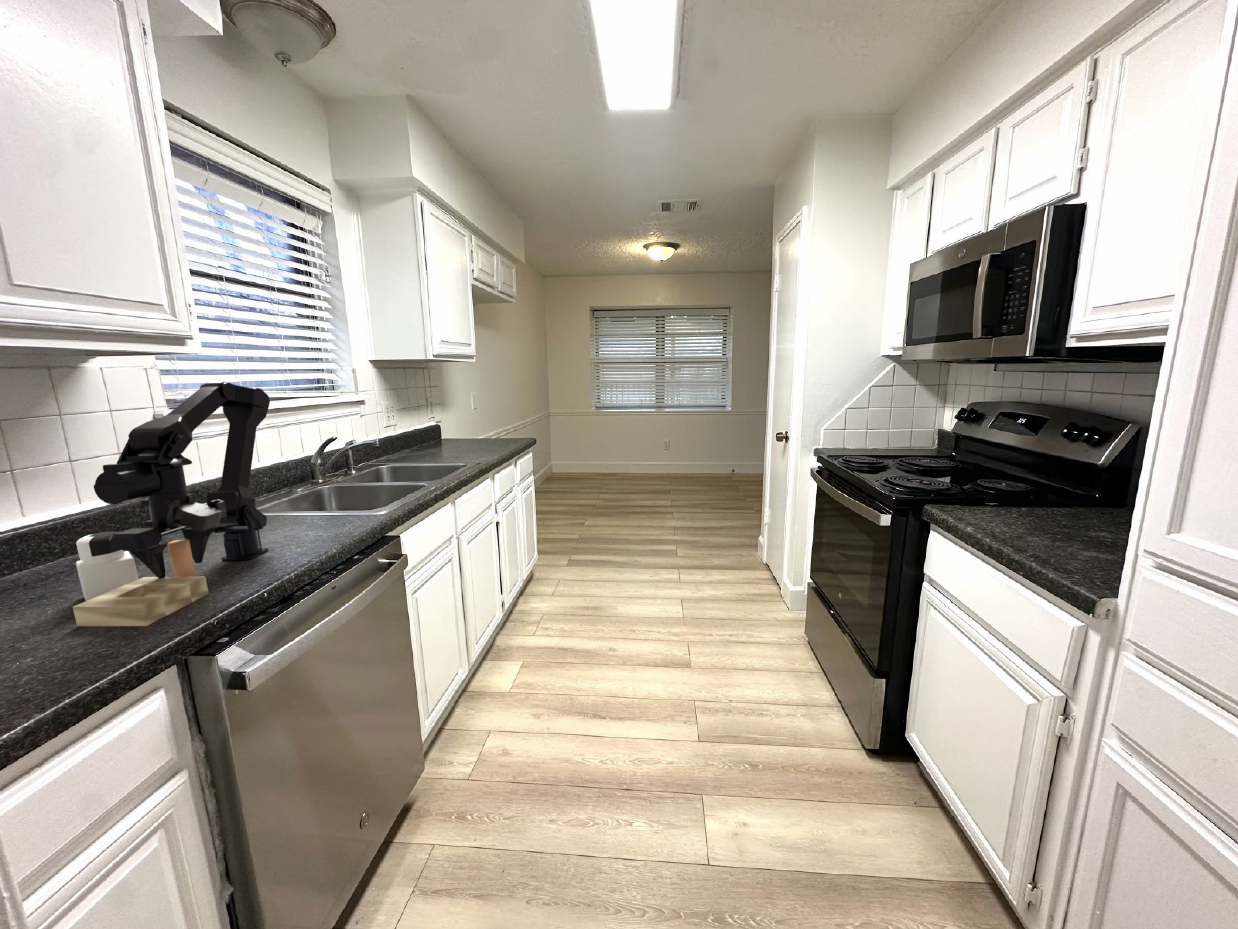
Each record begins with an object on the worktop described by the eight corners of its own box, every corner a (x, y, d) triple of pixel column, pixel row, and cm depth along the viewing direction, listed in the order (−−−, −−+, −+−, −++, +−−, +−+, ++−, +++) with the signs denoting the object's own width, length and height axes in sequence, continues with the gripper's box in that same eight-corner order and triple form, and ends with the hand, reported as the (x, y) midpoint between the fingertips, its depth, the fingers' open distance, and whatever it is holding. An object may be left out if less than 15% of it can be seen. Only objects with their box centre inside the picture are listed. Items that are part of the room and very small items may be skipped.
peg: (186, 582, 99) (177, 539, 98) (201, 581, 99) (193, 538, 98) (171, 588, 96) (162, 544, 94) (187, 588, 96) (178, 544, 94)
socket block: (147, 594, 94) (144, 577, 93) (208, 593, 93) (205, 576, 93) (77, 626, 82) (72, 606, 81) (146, 626, 82) (142, 606, 81)
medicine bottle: (135, 583, 99) (122, 526, 97) (141, 593, 95) (128, 533, 92) (83, 596, 94) (69, 536, 92) (87, 607, 89) (72, 543, 87)
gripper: (160, 502, 84) (176, 589, 87) (246, 481, 103) (257, 553, 105) (98, 504, 85) (115, 590, 87) (195, 482, 103) (207, 554, 106)
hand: (181, 570), depth 96 cm, fingers open, 7 cm apart
